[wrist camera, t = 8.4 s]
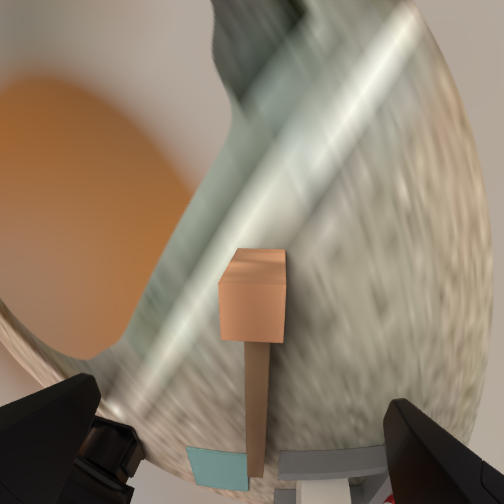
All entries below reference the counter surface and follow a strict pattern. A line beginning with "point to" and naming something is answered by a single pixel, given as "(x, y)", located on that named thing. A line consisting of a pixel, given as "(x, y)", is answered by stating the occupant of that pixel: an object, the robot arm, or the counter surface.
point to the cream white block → (323, 491)
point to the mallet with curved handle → (254, 332)
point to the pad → (219, 469)
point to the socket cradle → (337, 472)
